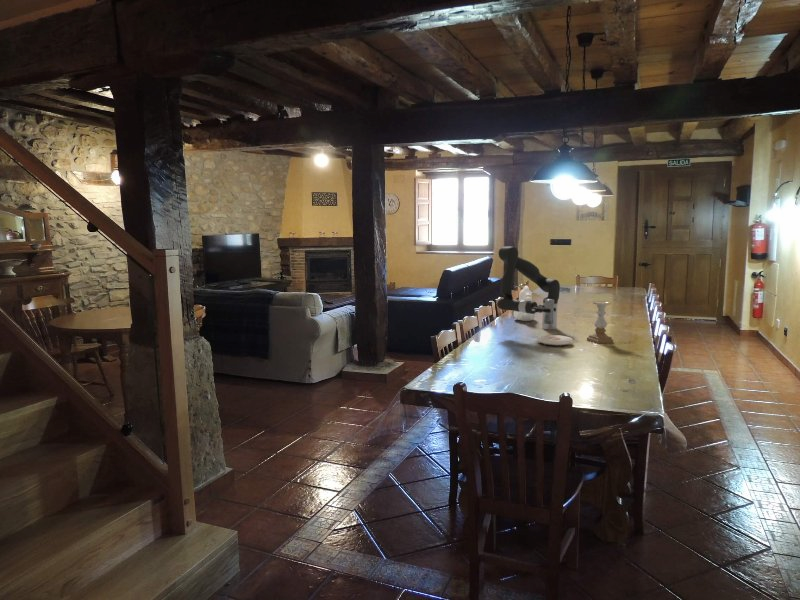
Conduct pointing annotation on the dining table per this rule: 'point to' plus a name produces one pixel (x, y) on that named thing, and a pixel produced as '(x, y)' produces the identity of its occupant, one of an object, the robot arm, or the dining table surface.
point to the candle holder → (600, 325)
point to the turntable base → (554, 345)
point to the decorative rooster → (525, 296)
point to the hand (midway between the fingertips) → (552, 310)
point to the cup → (550, 316)
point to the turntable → (554, 339)
